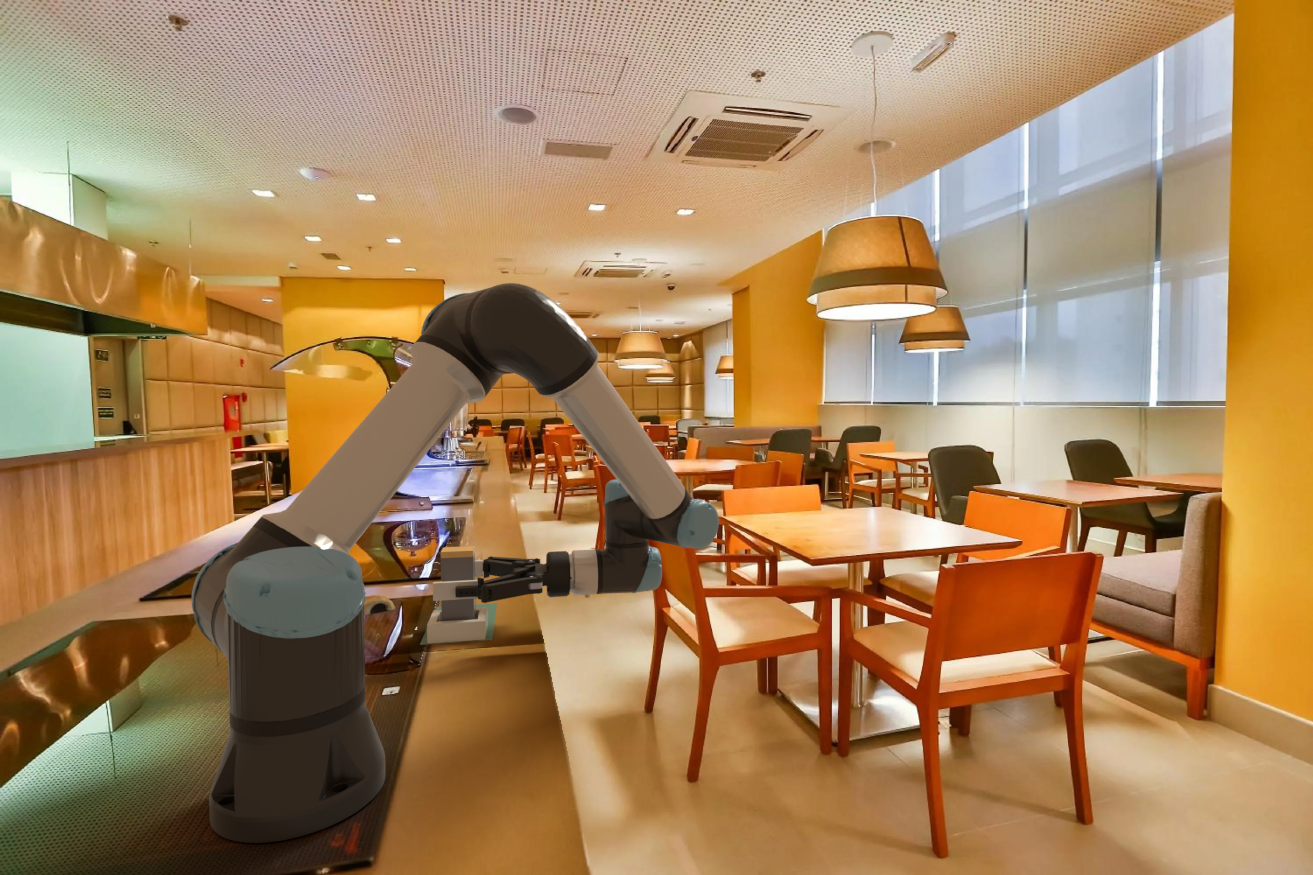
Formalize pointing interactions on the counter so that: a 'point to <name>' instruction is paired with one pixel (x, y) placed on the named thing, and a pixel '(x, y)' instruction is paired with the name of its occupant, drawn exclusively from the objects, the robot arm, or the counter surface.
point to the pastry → (377, 604)
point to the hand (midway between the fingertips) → (438, 580)
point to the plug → (458, 568)
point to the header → (457, 628)
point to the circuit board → (490, 626)
